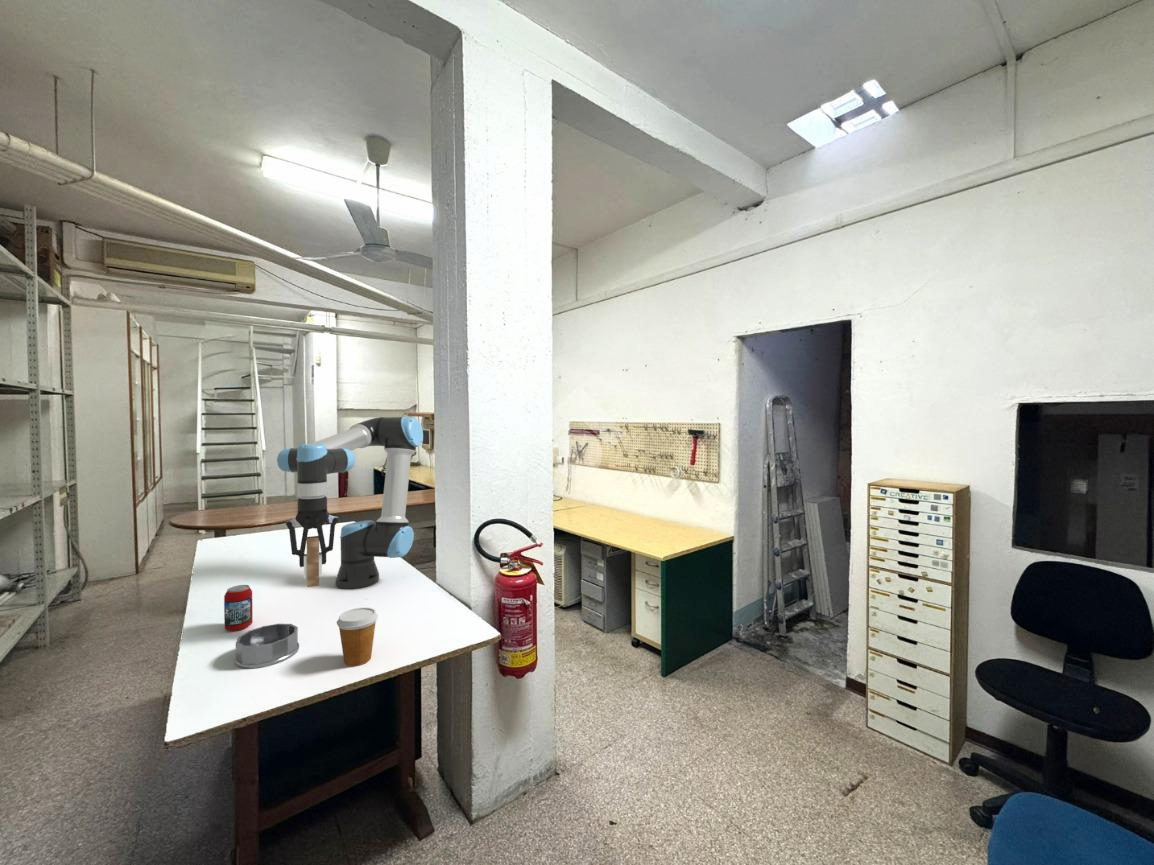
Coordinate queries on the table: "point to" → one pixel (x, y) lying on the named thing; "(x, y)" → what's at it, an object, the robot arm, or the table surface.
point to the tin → (266, 646)
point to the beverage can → (238, 608)
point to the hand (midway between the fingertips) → (313, 576)
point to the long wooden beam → (312, 561)
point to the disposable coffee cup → (357, 635)
